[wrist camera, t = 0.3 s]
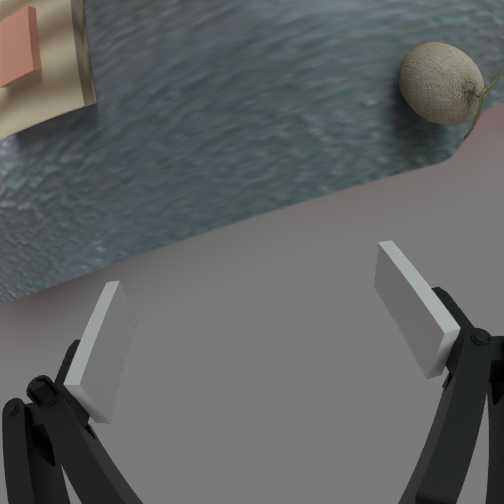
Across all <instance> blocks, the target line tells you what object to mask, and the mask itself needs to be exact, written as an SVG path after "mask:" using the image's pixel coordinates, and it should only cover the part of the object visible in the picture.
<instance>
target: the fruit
mask: <svg viewBox="0 0 504 504" xmlns="http://www.w3.org/2000/svg"><path fill="white" fill-rule="evenodd" d="M503 74H504V67H503V68H502V69H501V70H500V72H499V73H498V74H497V76H496V77H495V78H494V79H493V81H492V82H491V83H490V84H489V85H488V86H486V87H484V82H483V78H482V75H481V73H480V71H479V70H478V68H477V66H476V65H475V63H474V62H473V61H472V60H471V59H470V58H469V57H468V56H467V55H466V54H465V53H463V52H462V51H460V50H459V49H457V48H455V47H453V46H450V45H448V44H443V43H438V42H431V43H424V44H422V45H419V46H417V47H415V48H414V49H412V50H411V51H410V52H409V53H408V54H407V55H406V56H405V58H404V59H403V61H402V63H401V65H400V69H399V74H398V81H399V88H400V91H401V94H402V96H403V97H404V99H405V101H406V102H407V103H408V105H409V106H410V107H411V108H412V109H413V110H414V111H415V112H416V113H417V114H418V115H420V116H421V117H422V118H424V119H426V120H428V121H430V122H433V123H436V124H441V125H457V124H461V123H464V122H466V121H468V120H470V119H471V118H472V117H474V116H475V115H476V116H475V119H474V121H473V124H472V127H471V128H470V130H469V131H468V133H467V134H466V135H465V136H464V139H466V138H467V137H468V136H469V135H470V133H471V132H472V130H473V129H474V127H475V125H476V123H477V121H478V118H479V115H480V112H481V109H482V105H483V102H484V99H485V97H486V95H487V94H488V93H489V91H491V90H492V89H493V88H494V86H495V85H496V84H497V82H498V81H499V80H500V78H501V77H502V75H503Z"/></svg>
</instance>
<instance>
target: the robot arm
mask: <svg viewBox="0 0 504 504" xmlns="http://www.w3.org/2000/svg"><path fill="white" fill-rule="evenodd" d="M374 287H375V288H376V290H377V292H378V294H379V295H380V297H381V299H382V300H383V302H384V304H385V305H386V307H387V309H388V310H389V312H390V314H391V315H392V317H393V319H394V321H395V323H396V324H397V326H398V328H399V330H400V331H401V333H402V335H403V337H404V339H405V340H406V342H407V344H408V346H409V348H410V349H411V351H412V353H413V355H414V357H415V359H416V360H417V362H418V364H419V366H420V368H421V370H422V372H423V374H424V376H425V378H426V379H430V378H433V377H435V376H438V375H441V374H442V372H443V370H444V367H445V365H446V367H447V369H448V371H449V374H448V376H447V378H446V380H445V382H444V384H443V386H442V387H443V388H444V389H443V393H442V396H441V399H440V403H439V406H438V409H437V412H436V415H435V418H434V421H433V424H432V427H431V429H430V432H429V435H428V438H427V440H426V443H425V446H424V448H423V450H422V453H421V455H420V458H419V460H418V463H417V465H416V467H415V470H414V472H413V474H412V476H411V478H410V481H409V483H408V485H407V487H406V489H405V491H404V493H403V495H402V497H401V499H400V501H399V503H398V504H456V502H457V499H458V497H459V494H460V492H461V489H462V486H463V483H464V480H465V477H466V474H467V471H468V468H469V465H470V461H471V458H472V455H473V451H474V448H475V444H476V440H477V436H478V432H479V428H480V424H481V419H482V415H483V410H484V405H485V400H486V394H487V397H488V415H489V467H488V483H487V495H486V504H504V336H491V335H490V334H489V333H488V332H487V331H486V330H483V329H480V328H474V326H473V325H472V324H471V322H470V321H469V320H468V318H467V317H466V316H465V314H464V313H463V312H462V310H461V309H460V308H459V307H458V305H457V304H456V303H455V301H453V299H452V298H451V296H450V295H449V294H448V293H447V292H446V291H444V290H443V289H441V288H440V287H435V288H430V287H429V285H428V284H427V283H426V281H425V280H424V279H423V278H422V276H421V275H420V274H419V273H418V271H417V270H416V269H415V268H414V267H413V265H412V264H411V263H410V262H409V261H408V259H407V258H406V257H405V256H404V255H403V253H402V252H401V251H400V250H399V249H398V248H397V246H396V245H395V244H394V243H393V242H392V241H386V242H379V243H378V253H377V264H376V274H375V284H374ZM136 323H137V320H136V318H135V315H134V313H133V311H132V309H131V306H130V304H129V302H128V300H127V297H126V295H125V292H124V290H123V288H122V285H121V283H120V281H114V282H107V283H106V285H105V287H104V290H103V292H102V294H101V296H100V298H99V300H98V302H97V305H96V307H95V309H94V311H93V313H92V316H91V318H90V320H89V323H88V325H87V327H86V329H85V332H84V334H83V336H82V339H81V340H75V341H74V342H73V343H72V344H71V346H70V347H69V348H68V350H67V353H66V355H65V358H64V360H63V362H62V365H61V367H60V369H59V372H58V374H57V377H56V380H55V383H53V382H52V380H51V379H50V378H49V377H48V376H46V375H41V376H38V377H36V378H34V379H33V380H32V381H31V382H30V383H29V385H28V387H27V390H26V392H27V396H28V397H29V398H30V399H31V400H32V402H33V403H29V404H25V403H24V402H23V401H22V400H21V399H19V398H13V399H11V400H9V401H8V402H7V403H6V404H5V406H4V408H3V413H2V430H3V431H2V432H3V455H4V468H5V479H6V487H7V495H8V502H9V504H70V500H69V496H68V492H67V489H66V484H65V480H64V476H63V471H62V467H63V469H64V471H65V473H66V475H67V477H68V479H69V481H70V483H71V484H72V486H73V488H74V490H75V492H76V494H77V496H78V497H79V499H80V501H81V503H82V504H143V503H142V502H141V501H140V499H139V498H138V497H137V495H136V494H135V493H134V491H133V490H132V489H131V487H130V486H129V484H128V483H127V482H126V480H125V479H124V477H123V476H122V475H121V473H120V472H119V470H118V469H117V467H116V466H115V464H114V463H113V462H112V460H111V458H110V457H109V455H108V453H107V452H106V450H105V449H104V447H103V446H102V444H101V442H100V441H99V439H98V437H97V436H96V434H95V432H94V431H93V429H92V427H91V426H90V425H89V424H88V420H89V416H90V417H91V418H92V419H93V420H94V421H95V422H96V423H107V424H111V421H112V417H113V412H114V408H115V403H116V399H117V395H118V391H119V386H120V382H121V378H122V374H123V370H124V366H125V363H126V359H127V355H128V351H129V348H130V344H131V340H132V337H133V333H134V330H135V326H136ZM61 465H62V467H61Z"/></svg>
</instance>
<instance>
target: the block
mask: <svg viewBox="0 0 504 504" xmlns="http://www.w3.org/2000/svg"><path fill="white" fill-rule="evenodd" d="M40 70H42V66H41V58H40V50H39V41H38V30H37V15H36V8H35V7H31V6H27V7H25V8H23V9H21V10H20V11H18V12H16V13H14V14H13V15H11V16H9V17H8V18H6V19H4V20H3V21H1V22H0V88H4V87H8V86H10V85H12V84H14V83H16V82H17V81H19V80H21V79H23V78H25V77H27V76H29V75H32V74H34V73H36V72H38V71H40Z"/></svg>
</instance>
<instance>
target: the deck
mask: <svg viewBox="0 0 504 504" xmlns="http://www.w3.org/2000/svg"><path fill="white" fill-rule="evenodd" d="M27 6H31V7H35V8H36V15H37V30H38V41H39V50H40V58H41V66H42V70H40V71H38V72H36V73H34V74H32V75H29V76H27V77H25V78H23V79H21V80H19V81H17V82H16V83H14V84H12V85H10V86H8V87H4V88H0V139H3V138H6V137H8V136H11V135H13V134H16V133H18V132H20V131H23V130H25V129H27V128H30V127H32V126H35V125H37V124H39V123H42V122H44V121H47V120H50V119H52V118H55V117H57V116H60V115H63V114H66V113H68V112H71V111H74V110H77V109H80V108H83V107H86V106H89V105H92V104H95V103H97V99H96V94H95V88H94V82H93V76H92V70H91V63H90V56H89V49H88V41H87V33H86V24H85V14H84V2H83V0H0V22H1V21H3V20H4V19H6V18H8V17H9V16H11V15H13V14H14V13H16V12H18V11H20V10H21V9H23V8H25V7H27Z"/></svg>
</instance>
